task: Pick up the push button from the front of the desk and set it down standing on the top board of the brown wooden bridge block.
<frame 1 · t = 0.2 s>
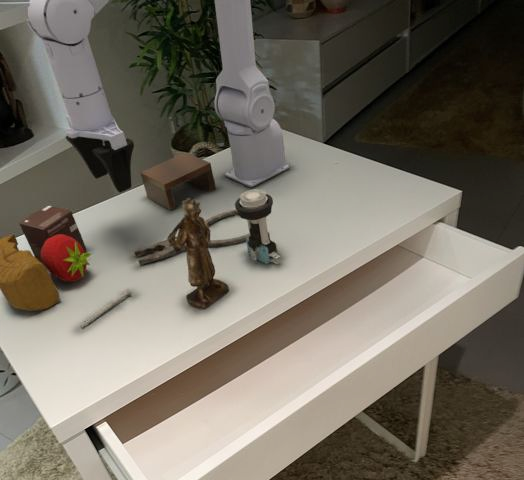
hand: (112, 182, 87), 10 cm above the table, tool pointing down, fingers open, 7 cm apart
figurine: (204, 299, 79), on the table
pliers: (201, 244, 89), on the table
wall anchor: (102, 306, 79), point 1 cm above the table
box: (62, 257, 92), on the table
push button: (264, 259, 84), on the table
brown wooden bridge block: (181, 193, 103), on the table
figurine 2: (3, 255, 89), point 3 cm above the table
strawberry: (42, 256, 87), point 3 cm above the table
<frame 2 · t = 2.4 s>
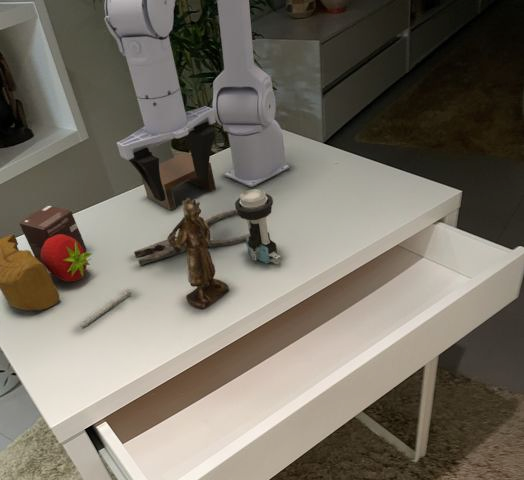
hand: (181, 188, 82), 10 cm above the table, tool pointing down, fingers open, 7 cm apart
nothing on the table moved.
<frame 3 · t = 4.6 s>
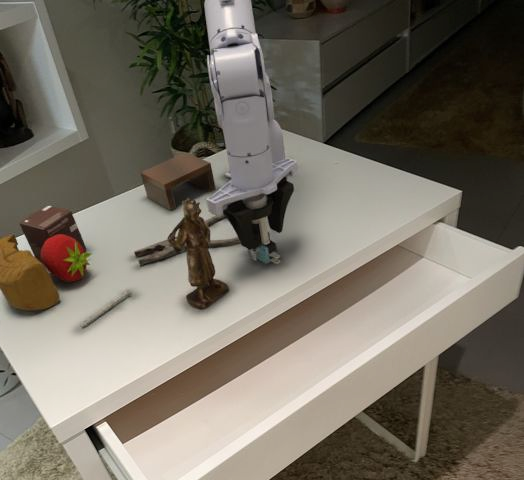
hand: (261, 238, 82), 3 cm above the table, tool pointing down, fingers closed on push button, 5 cm apart
push button: (265, 259, 84), on the table, touching gripper
everything else where it was.
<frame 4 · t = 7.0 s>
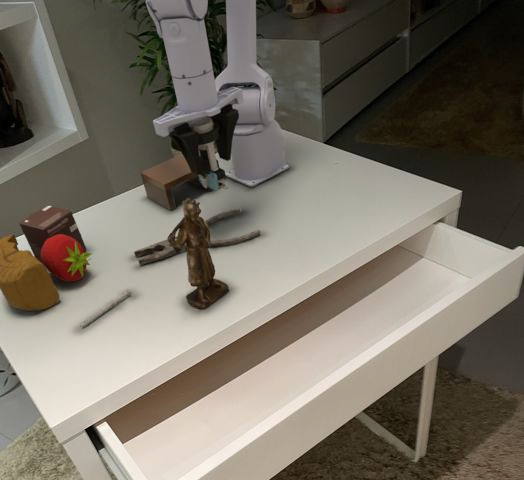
hand: (210, 165, 86), 10 cm above the table, tool pointing down, fingers closed on push button, 5 cm apart
push button: (215, 187, 88), point 7 cm above the table, touching gripper
everything else where it was.
when the fingers open (8 cm above the table, at t = 9.5 s): push button stays where it is, resting on brown wooden bridge block.
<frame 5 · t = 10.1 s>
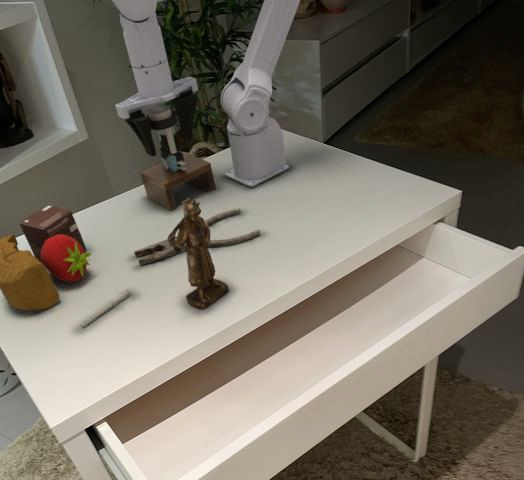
hand: (170, 146, 97), 9 cm above the table, tool pointing down, fingers open, 7 cm apart
push button: (175, 168, 100), point 5 cm above the table, touching brown wooden bridge block
everything else where it was.
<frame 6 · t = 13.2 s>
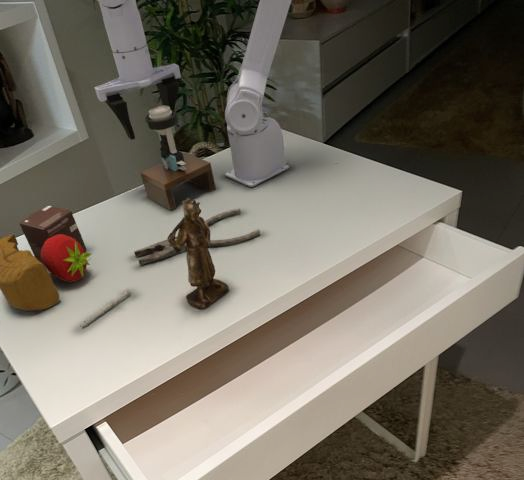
hand: (151, 131, 100), 10 cm above the table, tool pointing down, fingers open, 7 cm apart
nothing on the table moved.
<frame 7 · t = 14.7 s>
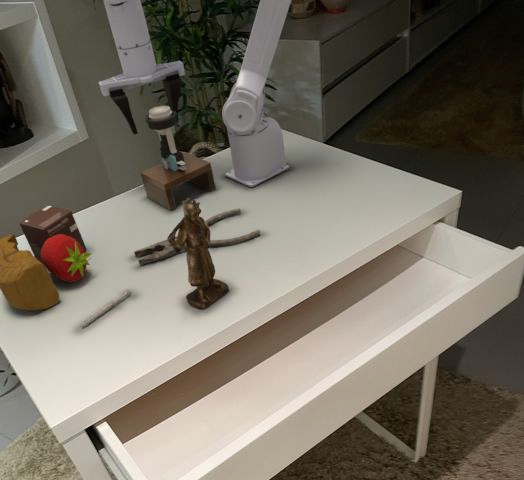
hand: (155, 126, 101), 10 cm above the table, tool pointing down, fingers open, 7 cm apart
nothing on the table moved.
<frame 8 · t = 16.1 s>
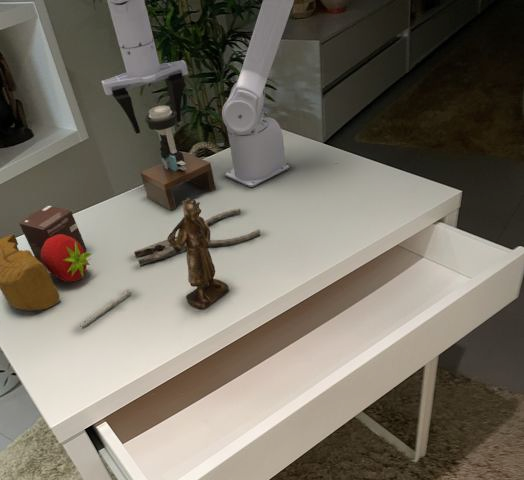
hand: (157, 125, 101), 10 cm above the table, tool pointing down, fingers open, 7 cm apart
nothing on the table moved.
at the end: push button 0.0 cm off-centre on the brown wooden bridge block, point 4.8 cm above the brown wooden bridge block's base; push button tilted 0°; the gripper is holding nothing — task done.
